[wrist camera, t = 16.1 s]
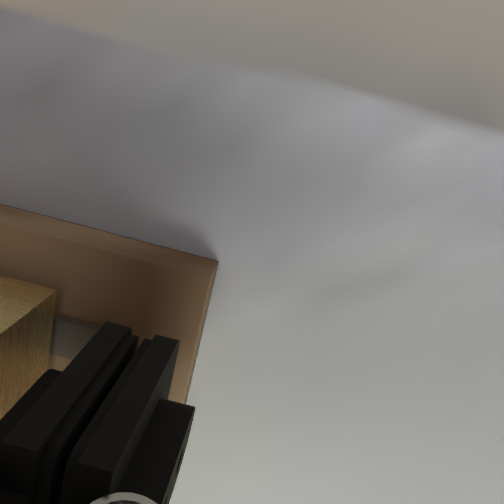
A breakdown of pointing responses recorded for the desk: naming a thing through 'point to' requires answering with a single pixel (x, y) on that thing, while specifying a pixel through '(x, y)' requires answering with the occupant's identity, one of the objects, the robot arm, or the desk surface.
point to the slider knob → (23, 337)
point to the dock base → (109, 286)
